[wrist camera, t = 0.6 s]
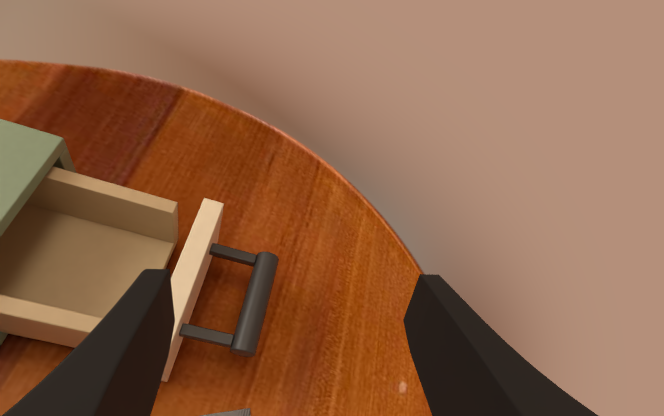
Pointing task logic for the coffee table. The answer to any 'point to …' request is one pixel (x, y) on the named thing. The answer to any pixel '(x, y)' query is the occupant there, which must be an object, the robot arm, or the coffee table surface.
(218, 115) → the coffee table surface
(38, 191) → the drawer
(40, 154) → the cabinet
